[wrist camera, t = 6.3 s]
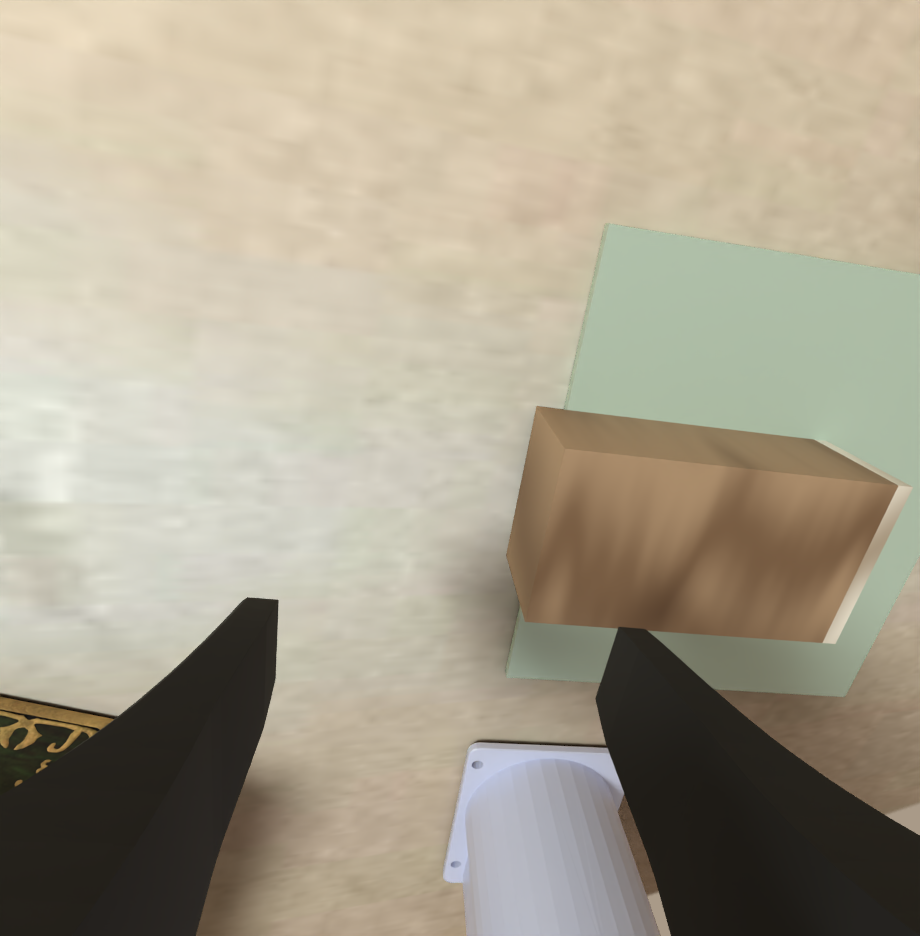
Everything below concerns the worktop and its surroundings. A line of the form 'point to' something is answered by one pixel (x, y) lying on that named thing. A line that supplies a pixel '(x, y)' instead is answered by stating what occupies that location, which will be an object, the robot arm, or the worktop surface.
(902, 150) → the worktop surface
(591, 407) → the green pad
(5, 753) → the decorative box
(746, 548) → the tan rectangular block
